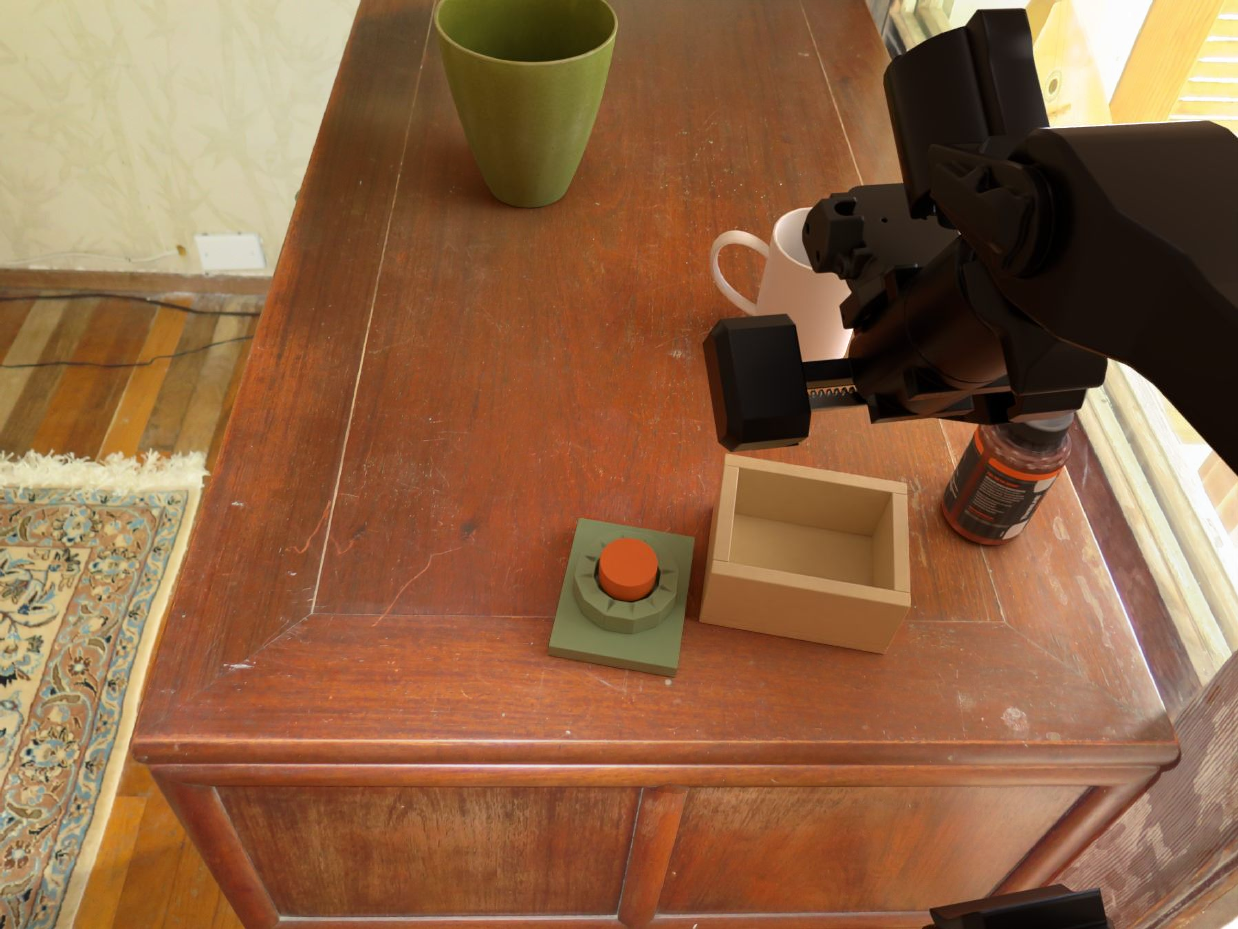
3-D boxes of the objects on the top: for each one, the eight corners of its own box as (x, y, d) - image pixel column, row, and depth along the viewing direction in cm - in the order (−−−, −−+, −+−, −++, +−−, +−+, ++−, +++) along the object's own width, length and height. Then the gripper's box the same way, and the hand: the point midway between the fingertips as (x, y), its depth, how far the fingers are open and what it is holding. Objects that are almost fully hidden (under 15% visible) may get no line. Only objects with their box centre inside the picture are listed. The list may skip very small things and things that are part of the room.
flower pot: (435, 146, 96) (421, -22, 83) (585, 132, 99) (592, -31, 86) (461, 242, 87) (449, 70, 74) (625, 223, 90) (639, 55, 77)
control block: (675, 677, 61) (680, 654, 59) (548, 655, 61) (548, 631, 59) (693, 547, 67) (698, 521, 65) (578, 527, 68) (579, 501, 66)
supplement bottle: (1031, 551, 69) (1103, 446, 60) (947, 547, 69) (1007, 440, 60) (1011, 484, 73) (1076, 376, 64) (931, 480, 73) (985, 371, 64)
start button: (650, 606, 61) (653, 590, 60) (593, 596, 61) (595, 580, 60) (658, 558, 63) (661, 543, 62) (603, 549, 64) (605, 533, 62)
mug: (844, 317, 83) (877, 213, 75) (846, 383, 78) (881, 279, 70) (701, 297, 84) (718, 192, 76) (694, 362, 79) (711, 257, 71)
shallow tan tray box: (884, 654, 63) (911, 607, 59) (698, 622, 64) (710, 572, 59) (883, 534, 69) (907, 482, 65) (713, 506, 70) (725, 453, 65)
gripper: (1122, 134, 45) (958, 270, 60) (726, 155, 42) (659, 293, 57) (1181, 368, 43) (996, 448, 58) (769, 409, 40) (687, 482, 55)
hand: (836, 413), depth 57 cm, fingers open, 9 cm apart
